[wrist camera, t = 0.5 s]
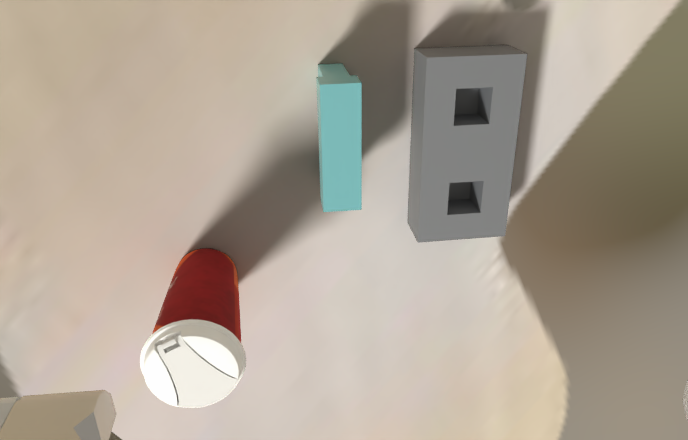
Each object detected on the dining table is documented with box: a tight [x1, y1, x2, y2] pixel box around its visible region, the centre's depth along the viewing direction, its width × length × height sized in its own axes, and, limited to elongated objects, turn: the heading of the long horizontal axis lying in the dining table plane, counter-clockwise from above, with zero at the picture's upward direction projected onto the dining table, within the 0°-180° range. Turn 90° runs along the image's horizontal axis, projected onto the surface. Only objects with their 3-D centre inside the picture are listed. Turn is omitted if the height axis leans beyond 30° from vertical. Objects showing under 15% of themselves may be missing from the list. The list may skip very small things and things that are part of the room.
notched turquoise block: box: [317, 64, 362, 212], centre depth 47 cm, size 10×3×7 cm, turn 1°
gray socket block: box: [408, 45, 527, 242], centre depth 51 cm, size 16×8×4 cm, turn 1°
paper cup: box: [140, 248, 246, 408], centre depth 49 cm, size 8×8×14 cm
